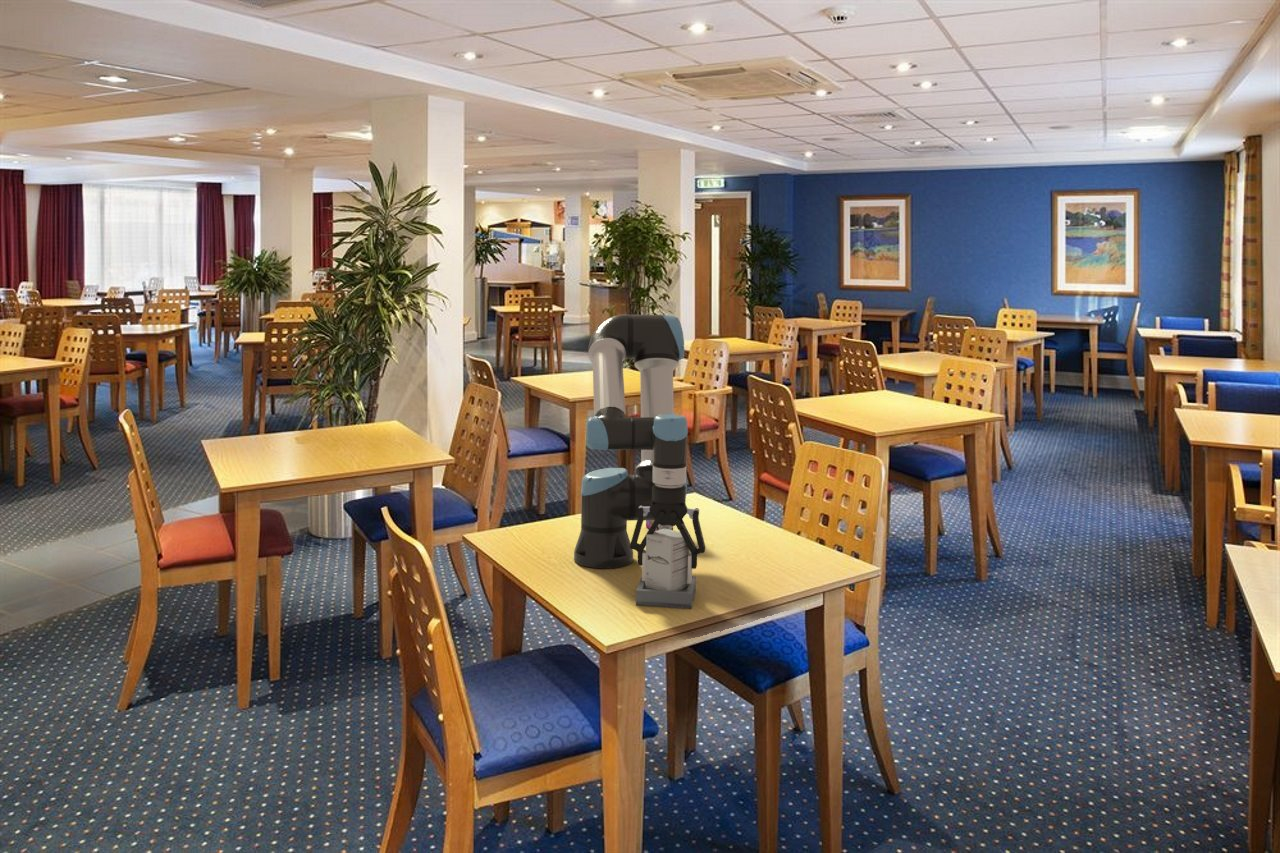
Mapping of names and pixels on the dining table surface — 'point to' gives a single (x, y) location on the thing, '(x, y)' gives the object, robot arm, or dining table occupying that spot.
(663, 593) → the dock tray
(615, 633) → the dining table surface
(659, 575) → the supplement box
